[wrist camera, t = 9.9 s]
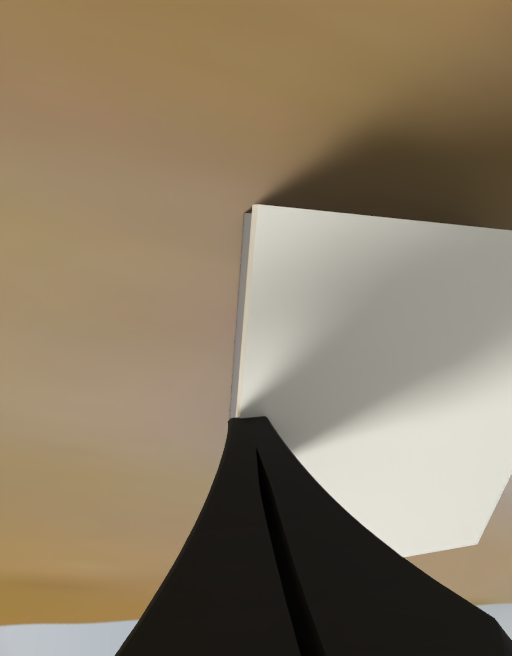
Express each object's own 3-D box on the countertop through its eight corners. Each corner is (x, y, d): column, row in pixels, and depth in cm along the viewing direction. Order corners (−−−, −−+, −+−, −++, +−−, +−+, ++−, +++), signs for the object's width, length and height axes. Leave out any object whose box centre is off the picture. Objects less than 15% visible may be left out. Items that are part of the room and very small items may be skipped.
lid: (598, 240, 11) (624, 242, 10) (465, 530, 16) (477, 544, 15) (252, 204, 8) (258, 204, 7) (223, 569, 13) (225, 588, 12)
